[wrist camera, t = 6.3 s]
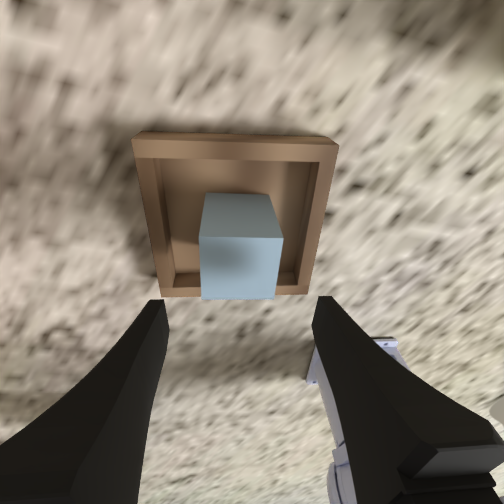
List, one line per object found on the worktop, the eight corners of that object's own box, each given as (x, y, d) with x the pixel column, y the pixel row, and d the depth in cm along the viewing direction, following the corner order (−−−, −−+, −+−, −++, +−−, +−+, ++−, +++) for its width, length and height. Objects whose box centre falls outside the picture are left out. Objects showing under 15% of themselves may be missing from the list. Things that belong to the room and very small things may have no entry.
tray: (327, 137, 18) (339, 145, 16) (301, 276, 25) (307, 294, 23) (141, 131, 17) (130, 139, 15) (166, 278, 24) (161, 297, 22)
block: (269, 194, 20) (283, 238, 15) (263, 247, 22) (273, 299, 17) (205, 192, 19) (198, 236, 14) (207, 246, 22) (201, 299, 17)
